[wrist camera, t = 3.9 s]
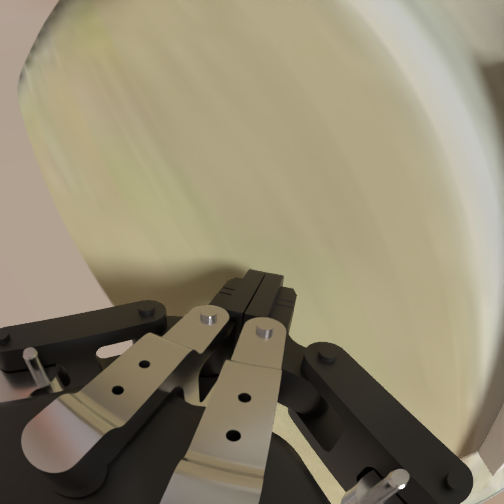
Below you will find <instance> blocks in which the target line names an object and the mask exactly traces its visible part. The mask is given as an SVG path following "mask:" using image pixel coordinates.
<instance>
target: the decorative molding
mask: <svg viewBox="0 0 504 504" xmlns="http://www.w3.org/2000/svg"><path fill="white" fill-rule="evenodd" d="M478 453H479V455H480V457H481V458H482V460H483V461H484V463H485V464H486V466H487V468H488V469H489V471H490V472H491V474H492V476H494V475H495V474H496V473H497V472H499V471H500V470H501V469H502V468H504V403H503V405H502V407H501V409H500V411H499V413H498V415H497V417H496V419H495V421H494V423H493V425H492V427H491V429H490V431H489V433H488V435H487V437H486V438H485V440H484V442H483V444H482V445H481V447H480V449H479V450H478Z"/></svg>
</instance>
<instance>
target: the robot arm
mask: <svg viewBox="0 0 504 504" xmlns="http://www.w3.org/2000/svg"><path fill="white" fill-rule="evenodd" d="M283 279H284V276H283V275H278V274H272V273H267V274H266V272H262V271H256V270H251V269H249V271H248V272H247V274H246V275H245V276H244V278H243V279H241V278H234V279H231V280H229V281H227V283H226V284H225V285H224V286H223V288H222V289H221V290H220V291H219V293H218V294H217V295H216V296H215V297H214V299H213V300H212V301H211V302H210V303H209V305H201V306H197V307H195V308H193V309H192V310H190V311H189V312H188V313H187V314H186V315H185V316H184V317H177V316H167V315H166V308H165V306H164V305H163V304H161V303H159V302H156V301H151V300H146V301H139V302H134V303H130V304H125V305H120V306H115V307H110V308H106V309H101V310H96V311H90V312H85V313H80V314H75V315H70V316H64V317H59V318H54V319H48V320H43V321H37V322H32V323H26V324H20V325H14V326H9V327H3V328H0V504H331V503H330V501H329V500H328V499H327V497H326V496H325V494H324V493H323V491H322V490H321V488H320V487H319V485H318V484H317V482H316V481H315V479H314V478H313V476H312V475H311V473H310V471H309V470H308V468H307V467H306V465H305V464H304V462H303V461H302V459H301V457H300V456H299V454H298V453H297V452H296V451H295V449H294V448H293V447H292V446H291V445H290V444H289V443H288V442H287V441H285V440H284V439H283V438H281V437H280V436H278V435H277V434H275V433H273V432H272V429H273V424H274V418H275V412H276V406H277V402H278V403H280V404H282V405H284V406H286V407H288V413H289V415H290V417H291V419H292V420H293V422H294V423H295V424H296V426H297V427H298V429H299V430H300V432H301V433H302V434H303V436H304V437H305V439H306V440H307V441H308V443H309V444H310V445H311V447H312V448H313V450H314V451H315V452H316V454H317V455H318V456H319V458H320V459H321V460H322V462H323V463H324V464H325V466H326V467H327V468H328V470H329V471H330V472H331V474H332V475H333V476H334V478H335V479H336V480H337V481H338V483H339V484H340V485H341V486H342V488H343V489H344V490H345V491H346V493H345V494H344V496H343V498H342V500H341V504H460V503H461V502H463V501H464V500H465V499H466V498H467V497H468V496H469V494H470V493H471V490H472V487H473V476H472V473H471V471H470V469H469V468H468V467H467V465H466V464H464V463H463V462H462V461H461V460H460V459H459V458H458V457H457V456H456V455H455V454H454V453H453V452H451V451H450V450H449V449H448V448H447V447H446V446H445V445H444V444H443V443H442V442H441V441H440V440H439V439H438V438H436V437H435V436H434V435H433V434H432V433H431V432H430V431H429V430H428V429H427V428H426V427H425V426H424V425H423V424H422V423H420V422H419V421H418V420H417V419H416V418H415V417H414V416H413V415H412V414H411V413H410V412H409V411H408V410H407V409H406V408H405V407H403V406H402V405H401V404H400V403H399V402H398V401H397V400H396V399H395V398H394V397H393V396H392V395H391V394H390V393H389V392H388V391H387V390H386V389H384V388H383V387H382V386H381V385H380V384H379V383H378V382H377V381H376V380H375V379H374V378H373V377H372V376H371V375H370V374H369V373H368V372H367V371H366V370H364V369H363V368H362V367H361V366H360V365H359V364H358V363H357V362H356V361H355V360H354V359H353V358H352V357H351V356H350V355H349V354H348V353H347V352H346V351H345V350H343V349H342V348H341V347H339V346H337V345H335V344H332V343H328V342H317V343H313V344H311V345H309V346H308V347H307V348H306V347H303V346H301V345H299V344H297V343H296V342H295V341H293V340H292V339H291V337H290V336H289V330H290V326H291V321H292V316H293V311H294V306H295V301H296V296H297V295H296V293H295V291H294V289H292V288H287V287H282V286H283ZM128 340H132V341H133V345H132V347H130V348H129V349H128V350H127V351H125V352H124V353H123V354H122V355H118V356H113V357H109V358H99V357H98V356H97V355H96V351H97V350H98V349H99V348H100V347H103V346H107V345H111V344H115V343H120V342H124V341H128Z"/></svg>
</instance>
